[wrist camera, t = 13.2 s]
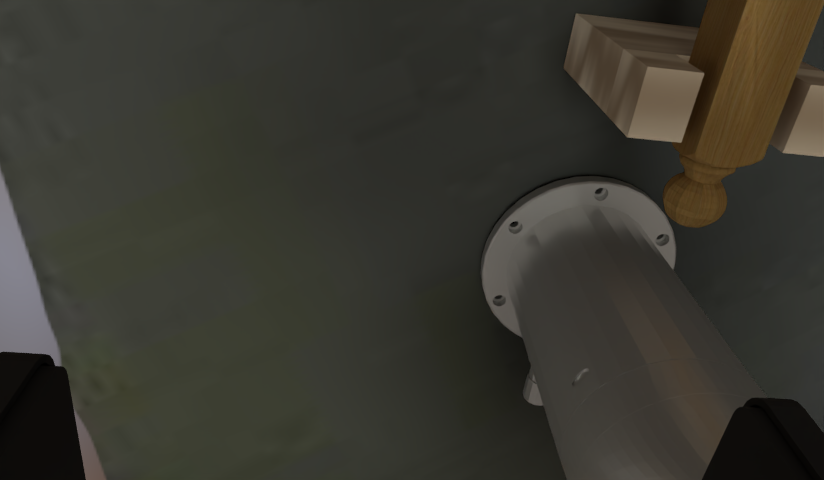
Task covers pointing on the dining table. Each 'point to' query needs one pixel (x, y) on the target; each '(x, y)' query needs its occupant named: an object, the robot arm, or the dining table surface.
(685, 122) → the block
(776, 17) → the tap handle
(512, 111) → the dining table surface
